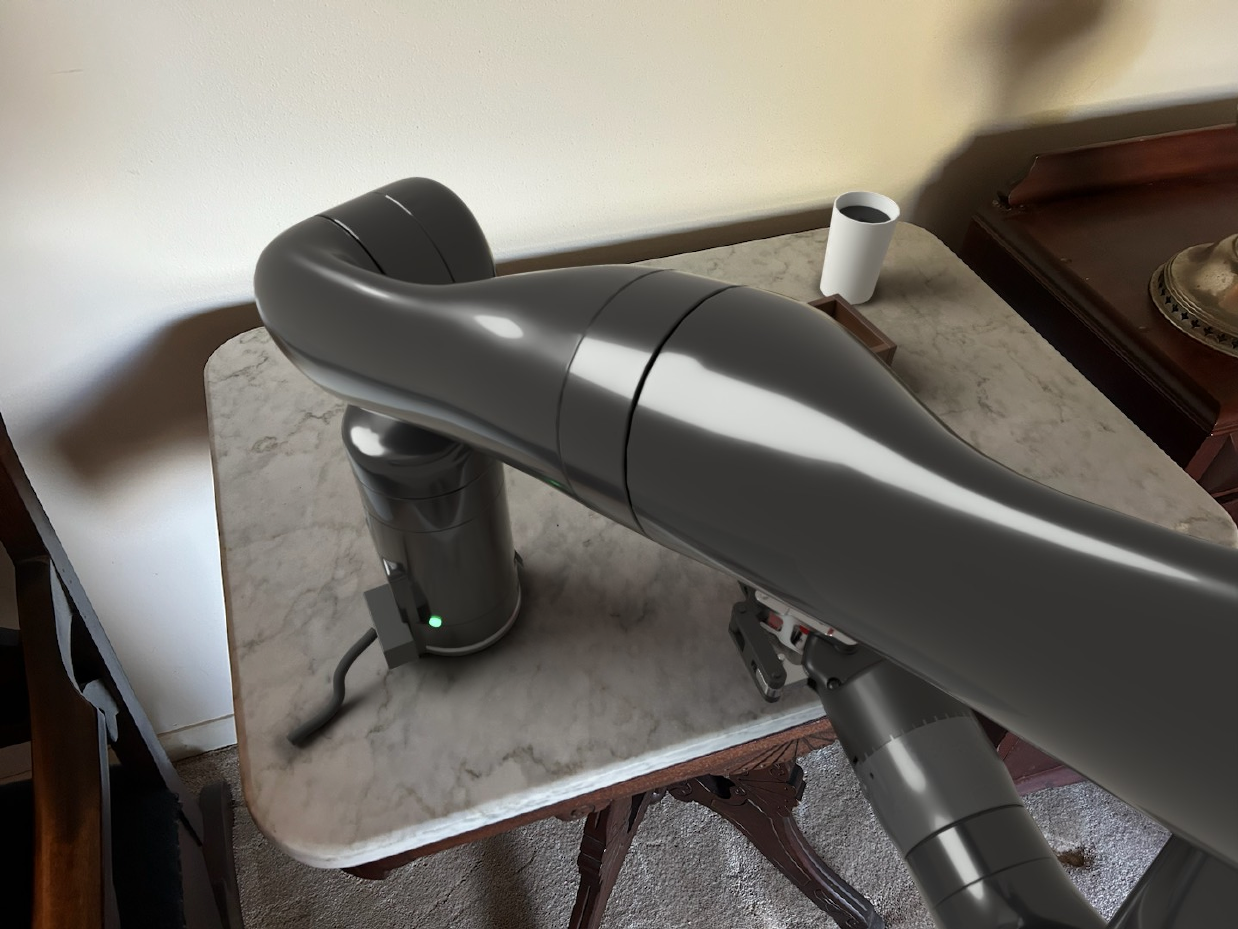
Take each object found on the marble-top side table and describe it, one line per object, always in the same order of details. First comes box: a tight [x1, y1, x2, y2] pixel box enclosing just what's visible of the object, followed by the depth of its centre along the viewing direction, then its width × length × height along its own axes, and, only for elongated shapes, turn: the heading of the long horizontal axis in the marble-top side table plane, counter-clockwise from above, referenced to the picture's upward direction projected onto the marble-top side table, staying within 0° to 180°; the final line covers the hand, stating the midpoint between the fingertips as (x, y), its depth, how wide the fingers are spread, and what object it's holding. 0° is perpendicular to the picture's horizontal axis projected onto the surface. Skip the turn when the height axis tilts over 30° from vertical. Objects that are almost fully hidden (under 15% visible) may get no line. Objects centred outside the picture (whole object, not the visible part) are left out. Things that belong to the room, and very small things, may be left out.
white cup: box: [819, 190, 901, 306], centre depth 90 cm, size 7×7×10 cm
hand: (800, 538), depth 58 cm, fingers open, 8 cm apart
